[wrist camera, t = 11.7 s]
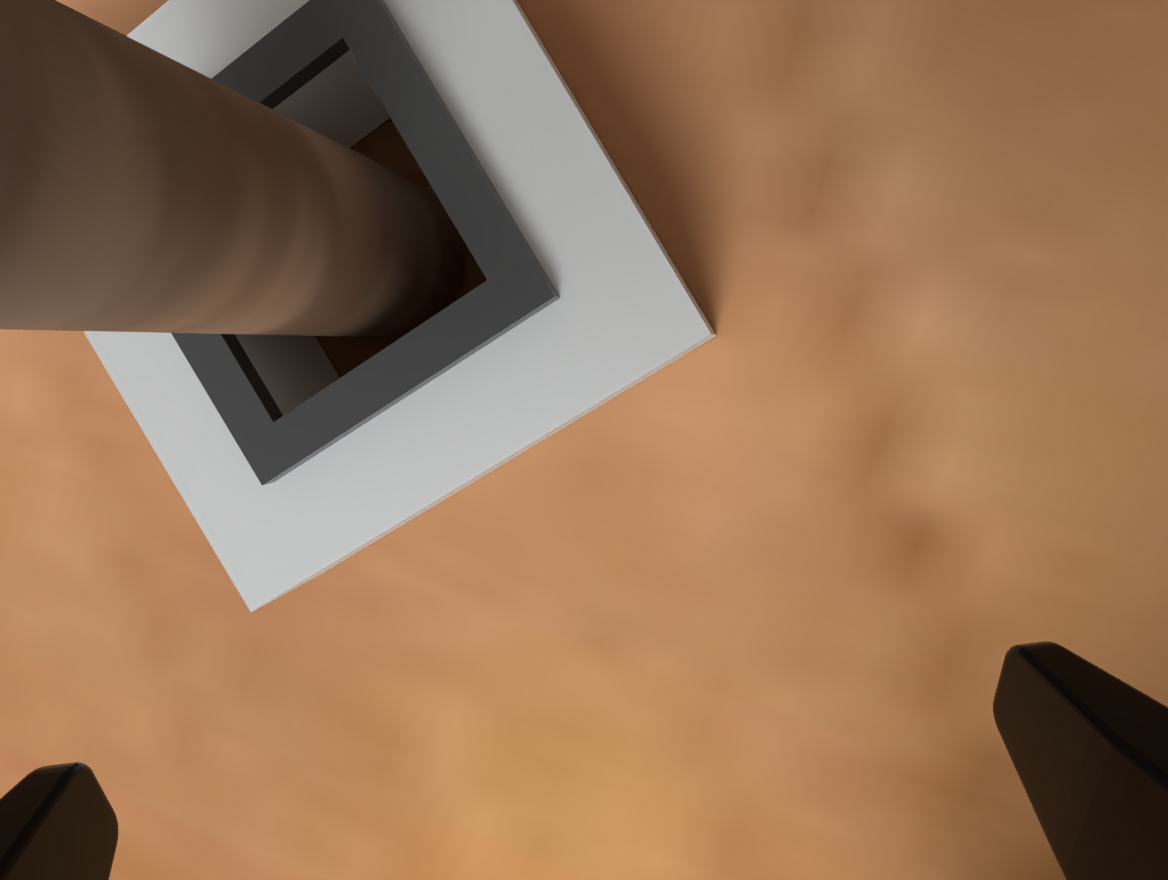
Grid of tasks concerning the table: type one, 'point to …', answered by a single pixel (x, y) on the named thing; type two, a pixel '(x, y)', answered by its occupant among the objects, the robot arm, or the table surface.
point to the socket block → (442, 343)
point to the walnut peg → (193, 202)
